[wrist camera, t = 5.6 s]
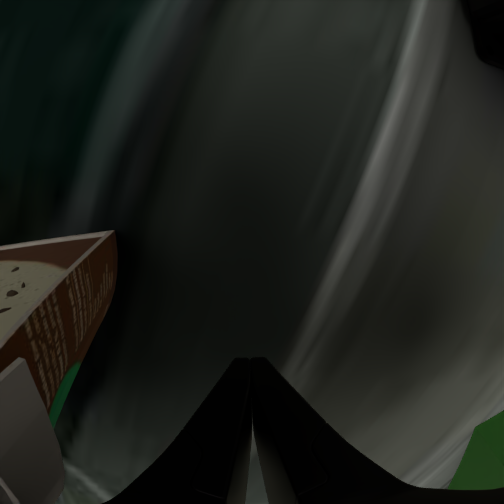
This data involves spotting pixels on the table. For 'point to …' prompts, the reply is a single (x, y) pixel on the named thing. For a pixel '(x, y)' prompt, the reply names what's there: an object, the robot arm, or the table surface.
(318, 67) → the table surface
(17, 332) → the food container
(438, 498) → the robot arm
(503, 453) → the hardback book
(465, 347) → the table surface
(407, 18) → the table surface
